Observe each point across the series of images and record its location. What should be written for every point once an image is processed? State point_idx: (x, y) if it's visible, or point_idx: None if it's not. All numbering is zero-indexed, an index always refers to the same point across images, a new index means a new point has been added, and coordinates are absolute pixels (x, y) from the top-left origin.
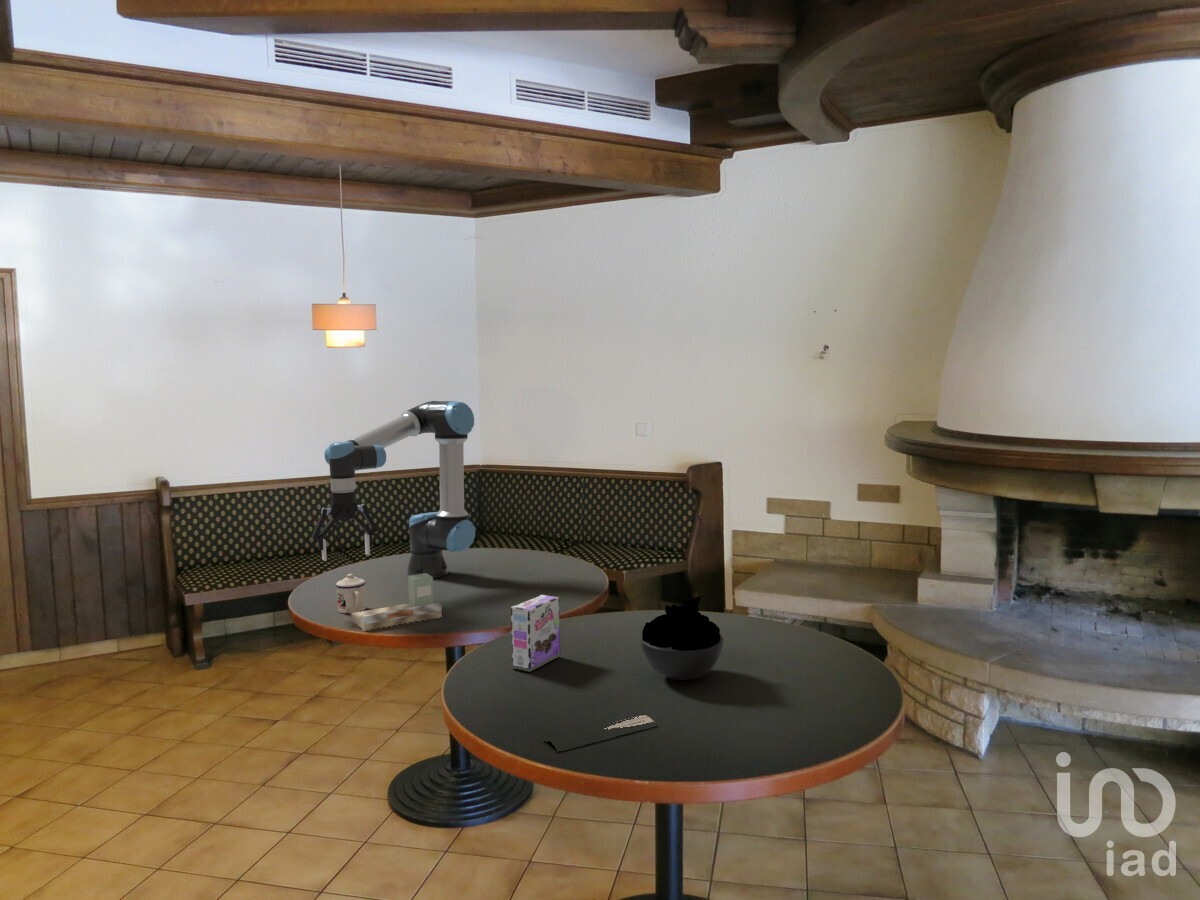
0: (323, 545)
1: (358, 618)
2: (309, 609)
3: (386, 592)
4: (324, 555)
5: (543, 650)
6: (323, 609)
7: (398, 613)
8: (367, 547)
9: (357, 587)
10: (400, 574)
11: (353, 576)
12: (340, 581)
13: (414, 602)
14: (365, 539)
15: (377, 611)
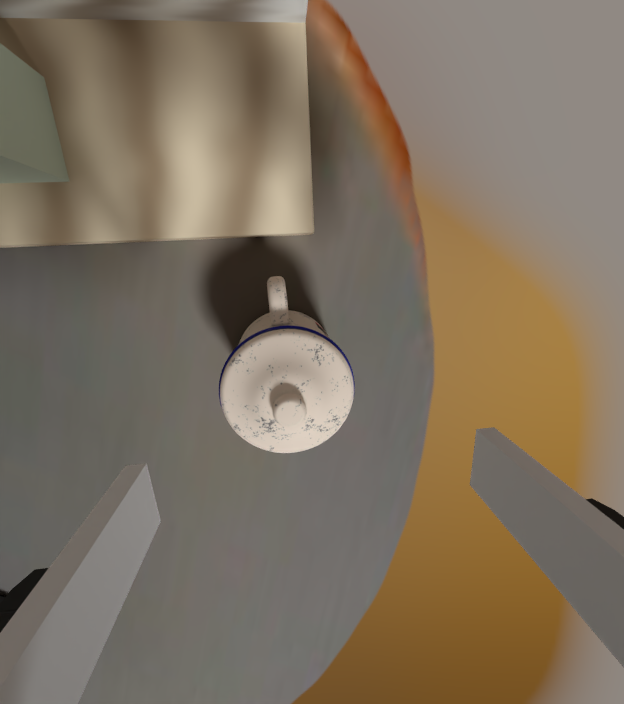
0: (617, 529)
1: (304, 129)
2: (399, 426)
3: None
4: (521, 453)
5: None
6: (364, 406)
7: None
8: (109, 519)
9: (268, 331)
10: None
11: (274, 402)
12: (335, 405)
13: (10, 58)
14: (78, 656)
15: (213, 192)
